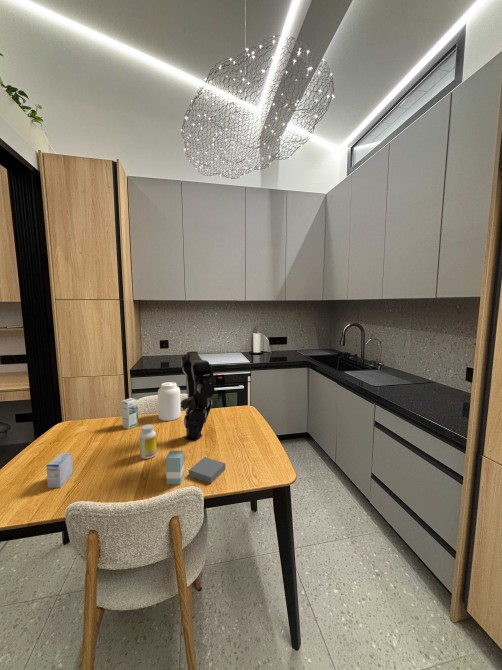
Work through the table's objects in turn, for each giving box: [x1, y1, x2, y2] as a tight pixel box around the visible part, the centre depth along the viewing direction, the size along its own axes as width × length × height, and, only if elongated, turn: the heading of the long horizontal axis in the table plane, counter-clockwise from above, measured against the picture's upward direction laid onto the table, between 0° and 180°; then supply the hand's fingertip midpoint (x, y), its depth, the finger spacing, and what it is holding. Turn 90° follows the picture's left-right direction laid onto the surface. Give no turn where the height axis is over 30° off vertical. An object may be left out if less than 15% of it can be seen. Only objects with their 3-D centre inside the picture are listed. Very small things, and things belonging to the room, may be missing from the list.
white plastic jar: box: [157, 381, 182, 422], centre depth 157 cm, size 12×12×20 cm
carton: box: [165, 450, 185, 485], centre depth 100 cm, size 5×5×10 cm
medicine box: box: [46, 452, 74, 489], centre depth 99 cm, size 8×4×9 cm, turn 5°
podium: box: [188, 456, 227, 484], centre depth 105 cm, size 10×10×2 cm
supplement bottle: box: [138, 423, 157, 460], centre depth 116 cm, size 7×7×13 cm
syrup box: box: [121, 397, 139, 430], centre depth 145 cm, size 6×6×14 cm
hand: (202, 427), depth 116 cm, fingers open, 9 cm apart
